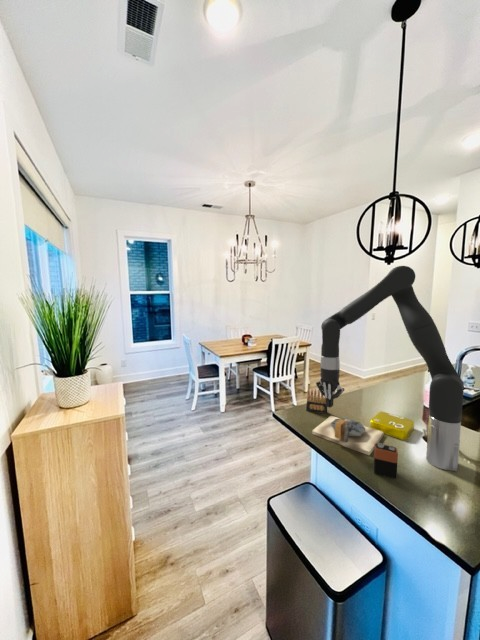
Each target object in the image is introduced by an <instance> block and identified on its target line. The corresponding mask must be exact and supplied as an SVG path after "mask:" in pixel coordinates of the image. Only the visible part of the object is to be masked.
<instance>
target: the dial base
mask: <svg viewBox="0 0 480 640" xmlns="http://www.w3.org/2000/svg"><path fill="white" fill-rule="evenodd" d="M335 419H341V418H340V417H336V416H333V415H330V416H328V418H326V419H325V420H324V421H323V422H321V423H320V424H318V425H317V426H316V427H315V428H313V429H312V430H311V434H312V435H314V436H316V437H319V438H322V439H324V440H326V441H329V442H332V443H334V444H338V445H340V446H343V447H345V448H347V449H351V450H353V451H356V452H359V453H362V454H364V455H367V456H368V457H369V456H371V454H372V452H374V447H375V443H377V444H378V443H380V441H381V440H382V439H383V437H384V435H385V434H384V432H382V431H379V430H376V429H372V428H370V426H369V427H368V426H367V425H363V426H364V427H365V432H364V433H363V434H362V435H361V436H348V428H352V421H351V420H352V419H350V418H344V419H345V421H346V425H344V436H343V437H342V438H341V439H339V438H336V437H335V430H334V429H333V428H332V426H331V423H332V422H333V421H334V420H335Z"/></svg>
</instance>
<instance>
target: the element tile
mask: <svg viewBox="0 0 480 640" xmlns="http://www.w3.org/2000/svg"><path fill="white" fill-rule="evenodd" d="M369 425H370V426H369V428H372V429H376V430H379V431H382V432H384V435H386V436H389V437H393V438H395V439H398V440H401V441H406V440H407V441H408V439H409V438H410V436H411V435H412V434H413V432H414V430H415V421H414V420H413V419H410V418H406V417H403V416H400V415H396V414H392V413H389V412H385V411H379V412H378V413H376V414H375V415H374V416H373V417H372V418H371V419H370V423H369Z"/></svg>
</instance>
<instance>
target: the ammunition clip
mask: <svg viewBox="0 0 480 640" xmlns="http://www.w3.org/2000/svg"><path fill="white" fill-rule="evenodd" d="M305 408H306V412H312V413H319V414H328V407H327V406H326V398H325V396H324V395H322V394H321V392H320V390H319V389H318V390H316V389H314V390H313V388H311V391H310V388H307V393H306V407H305Z"/></svg>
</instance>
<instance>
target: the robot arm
mask: <svg viewBox="0 0 480 640" xmlns="http://www.w3.org/2000/svg"><path fill="white" fill-rule="evenodd" d="M415 280H416V272H415V270H414V269H413V268H411V267H410V266H407V265H398V266H395V267H394V268H392V269H391V270H390V271H389V272H388V273H387V275H385V276H384V277H383V278H382V279H381V280H380V281H379V282H378V283H376V285H375V286H373V287H371V288H370V289H369V290H367V291H366V292H365V293H363V294H361V295H360V296H359V297H357V298H356V299H354V300H352V301H351V302H350V303H348V304H347V305H345V306H344V307H343V308H342V309H340V310H338V312H335V313H334V314H332V315H330V316H329V317H327V318H326V319H324V320H323V322H322V324H321V327H320V328H321V335H322V336H321V338H322V340H321V356H320V381H317V382H316V383H315V384H316V386H317V389H318V390H319V391H320V395H321V394H322V395H323V397H324V396H325V398H326V406H327V408H332V407H333V406H334V400H336V399H338V398H339V397H340V396H341V395H342V394H343V393H344V392H345V388H343V387H341V385H340V381H339V379H340V367H341V366H340V363H341V362H340V339H341V337H340V336H341V330H342V329H343V328H344V327H346V326H347V325H351V324H353V323H355V322H356V321H357V320H359V319H360V318H362V317H363V316H365V315H366V314H368V312H371V310H373V309H374V308H375V307H376V306H377V305H379V304H380V303H382V302H384V301H385V300H386V299H387V298H389V297H392V299H393V301H394V302H395V304H396V306H397V308H398V311H399V314H400V318H401V320H402V323H403V325H404V328H405V330H406V332H407V334H408V337H409V339H410V341H411V343H412V345H413V346H414V348H415V349H416V351H417V352H418V353H419V355H420V356H421V357H422V359H423V360H424V362H425V364H426V366H427V368H428V371H429V375H430V377H431V378H430V379H431V382H430V385H429V395H428V411H429V412H428V426H427V439H426V440H427V441H426V461H427V462H428V463H429V464H430V465H432V466H433V467H436V468H438V469H441V470H445V471H453V472H458V467H459V459H460V457H459V456H460V447H461V446H460V443H461V431H462V430H461V426H462V417H463V401H464V391H465V385H464V382H463V379H462V378H461V377H460V375H459V373H458V372H457V370H456V368H455V367H454V365H453V364H452V362H451V360H450V358H449V356H448V354H447V351H446V347H445V344H444V342H443V339H442V337H441V333H440V332H439V330H438V327H437V325H436V323H435V321H434V319H433V317H432V316H431V315H430V313H429V312H428V311H427V309H426V308H425V307H424V306H423V305H422V303H421V302H420V301H419V299H418V297H417V295H416V293H415V290H414V287H413V284H414V283H415Z"/></svg>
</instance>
